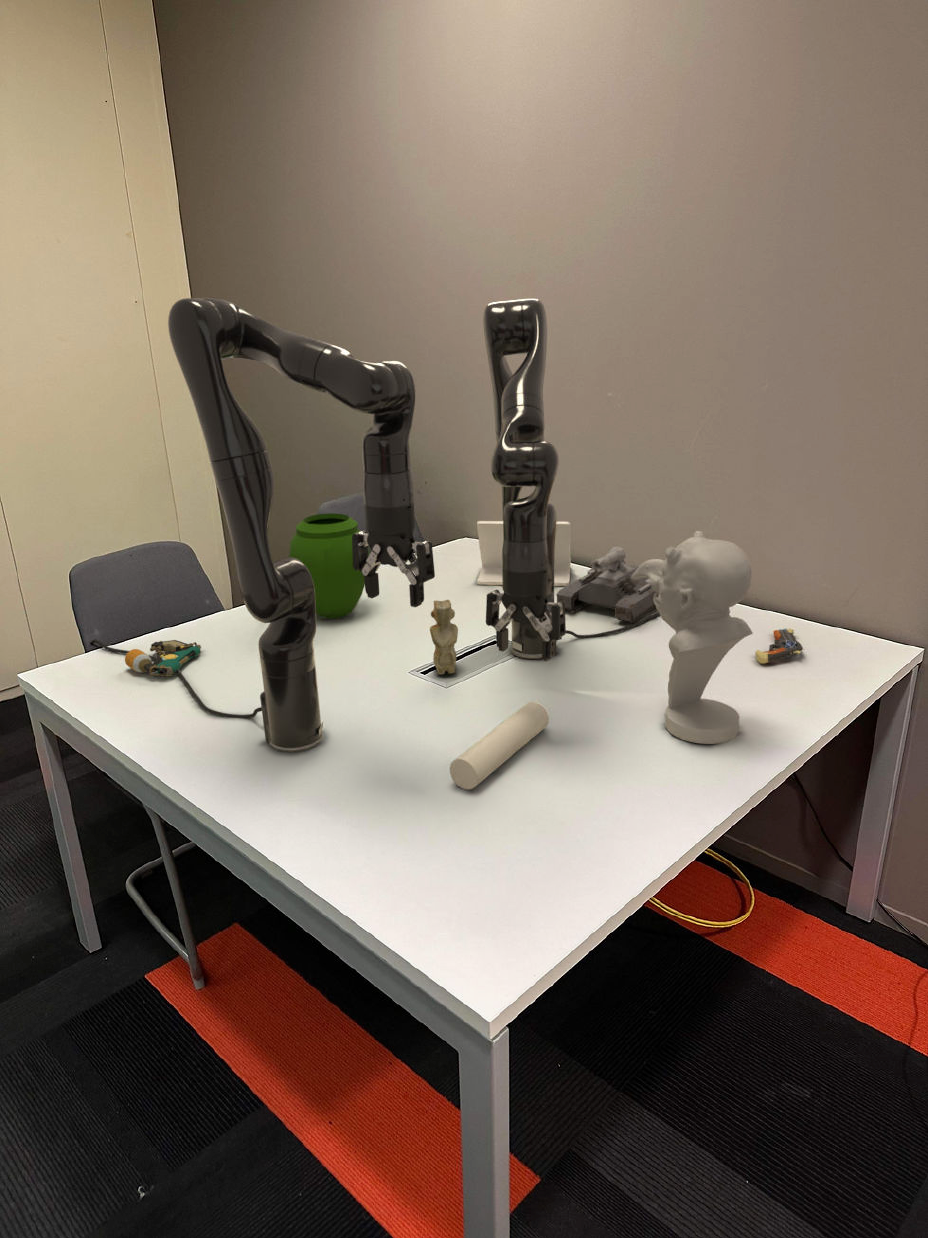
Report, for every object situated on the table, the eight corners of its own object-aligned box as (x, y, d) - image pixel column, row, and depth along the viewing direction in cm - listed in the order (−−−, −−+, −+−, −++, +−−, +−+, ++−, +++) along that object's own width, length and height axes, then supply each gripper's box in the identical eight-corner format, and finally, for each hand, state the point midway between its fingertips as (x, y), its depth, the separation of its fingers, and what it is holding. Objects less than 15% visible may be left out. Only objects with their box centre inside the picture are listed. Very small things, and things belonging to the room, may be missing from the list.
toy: (603, 584, 229) (605, 530, 224) (673, 597, 218) (677, 540, 213) (555, 612, 210) (556, 553, 205) (630, 627, 199) (633, 566, 194)
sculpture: (458, 662, 183) (456, 596, 178) (460, 676, 176) (457, 608, 171) (431, 663, 183) (428, 597, 177) (431, 677, 176) (428, 609, 171)
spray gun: (168, 648, 197) (219, 659, 191) (111, 671, 183) (165, 685, 177) (166, 630, 196) (218, 641, 190) (109, 653, 181) (164, 665, 176)
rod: (523, 725, 156) (522, 699, 154) (548, 732, 153) (549, 705, 151) (450, 784, 138) (449, 755, 136) (477, 793, 135) (477, 764, 133)
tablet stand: (569, 585, 229) (570, 524, 223) (476, 584, 232) (475, 523, 226) (570, 566, 246) (571, 508, 240) (484, 564, 249) (483, 507, 243)
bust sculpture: (671, 682, 170) (682, 511, 158) (763, 732, 151) (784, 540, 138) (606, 701, 164) (613, 523, 151) (694, 755, 144) (709, 555, 131)
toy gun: (758, 654, 176) (809, 651, 174) (746, 627, 194) (792, 624, 192) (758, 667, 177) (809, 664, 175) (747, 638, 195) (793, 635, 193)
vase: (389, 608, 216) (383, 514, 208) (339, 633, 201) (330, 533, 192) (330, 596, 226) (322, 506, 218) (278, 619, 211) (267, 523, 202)
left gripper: (336, 500, 129) (344, 600, 135) (411, 509, 122) (417, 616, 127) (368, 490, 135) (374, 587, 141) (441, 499, 128) (445, 601, 133)
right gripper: (476, 563, 141) (478, 654, 147) (552, 576, 134) (551, 670, 140) (500, 552, 147) (500, 640, 153) (574, 564, 140) (572, 655, 145)
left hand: (394, 601), depth 134 cm, fingers open, 8 cm apart
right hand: (525, 654), depth 146 cm, fingers open, 8 cm apart
